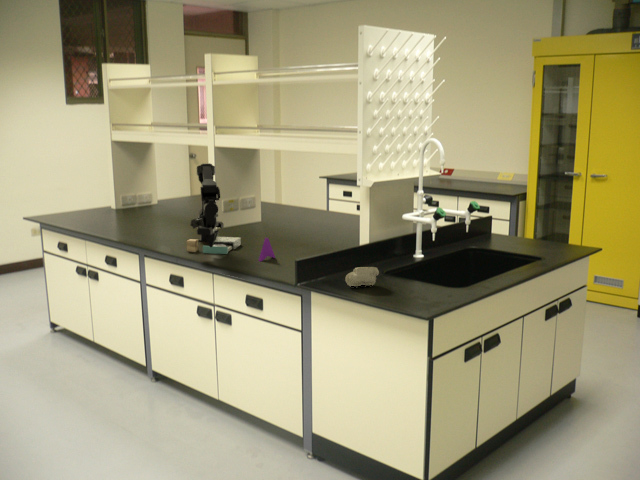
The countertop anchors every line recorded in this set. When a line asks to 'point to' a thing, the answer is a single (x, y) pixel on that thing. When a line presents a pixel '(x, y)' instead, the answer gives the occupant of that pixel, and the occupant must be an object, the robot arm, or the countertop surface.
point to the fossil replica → (362, 276)
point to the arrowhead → (266, 250)
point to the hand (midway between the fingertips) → (211, 247)
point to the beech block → (192, 245)
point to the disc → (220, 245)
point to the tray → (216, 249)
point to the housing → (228, 241)
